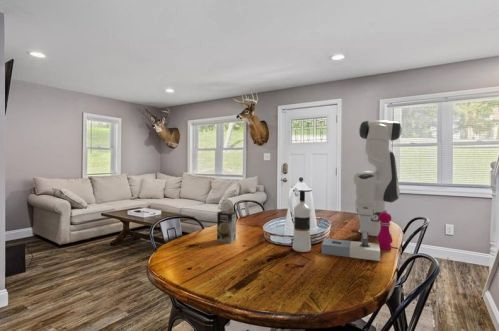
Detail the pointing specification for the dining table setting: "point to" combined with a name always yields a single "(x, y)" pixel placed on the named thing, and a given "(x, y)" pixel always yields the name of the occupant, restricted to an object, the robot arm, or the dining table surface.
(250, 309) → the dining table surface
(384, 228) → the pepper mill
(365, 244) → the lock pin
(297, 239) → the vodka
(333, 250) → the pin board
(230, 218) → the coffee box
